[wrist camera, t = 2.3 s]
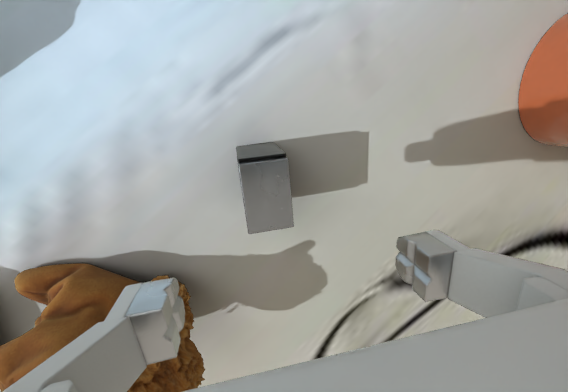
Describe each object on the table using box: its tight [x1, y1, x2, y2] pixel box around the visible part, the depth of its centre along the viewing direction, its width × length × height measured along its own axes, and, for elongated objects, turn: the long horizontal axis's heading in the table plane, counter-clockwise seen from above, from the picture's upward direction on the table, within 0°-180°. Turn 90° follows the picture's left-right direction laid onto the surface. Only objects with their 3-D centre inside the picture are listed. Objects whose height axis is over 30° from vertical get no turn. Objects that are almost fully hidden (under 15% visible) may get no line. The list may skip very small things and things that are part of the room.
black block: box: [236, 142, 294, 234], centre depth 19 cm, size 5×3×6 cm, turn 5°
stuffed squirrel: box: [0, 263, 205, 392], centre depth 17 cm, size 10×14×13 cm
